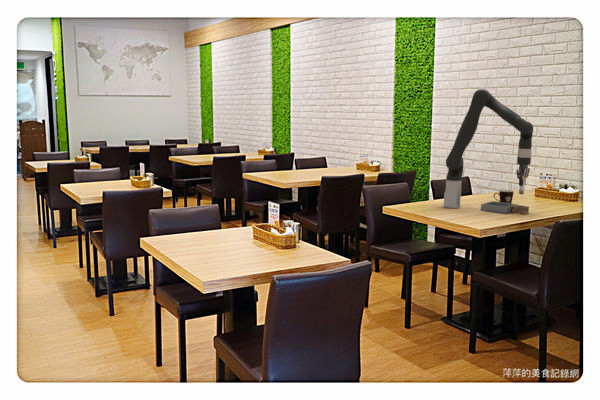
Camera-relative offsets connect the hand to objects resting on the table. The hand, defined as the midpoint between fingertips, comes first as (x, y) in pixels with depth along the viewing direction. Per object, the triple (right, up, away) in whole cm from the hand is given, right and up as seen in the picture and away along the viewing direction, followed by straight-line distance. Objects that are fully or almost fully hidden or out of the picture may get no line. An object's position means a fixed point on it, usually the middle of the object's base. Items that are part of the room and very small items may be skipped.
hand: (522, 185), depth 324 cm
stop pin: (0, -5, +1) cm, 5 cm away
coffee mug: (-2, -13, +25) cm, 28 cm away
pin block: (0, -16, +3) cm, 17 cm away
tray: (-10, -15, +10) cm, 21 cm away
